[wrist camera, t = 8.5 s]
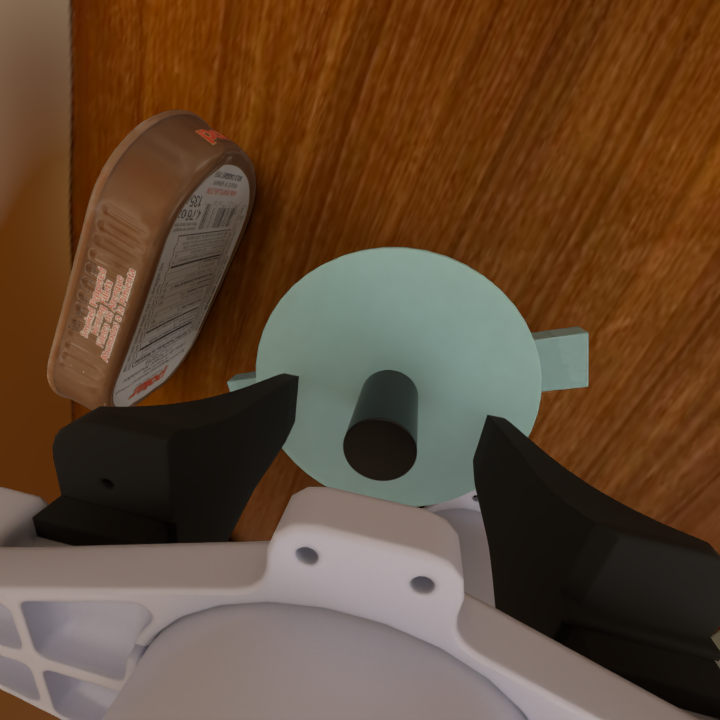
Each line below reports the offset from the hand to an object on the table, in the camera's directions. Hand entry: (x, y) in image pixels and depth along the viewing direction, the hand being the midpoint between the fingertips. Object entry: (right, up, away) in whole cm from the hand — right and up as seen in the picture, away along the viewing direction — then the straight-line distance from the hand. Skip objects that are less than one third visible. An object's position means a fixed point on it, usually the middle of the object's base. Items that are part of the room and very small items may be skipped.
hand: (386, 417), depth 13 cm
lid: (0, +1, +2) cm, 2 cm away
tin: (-10, +7, +8) cm, 15 cm away
